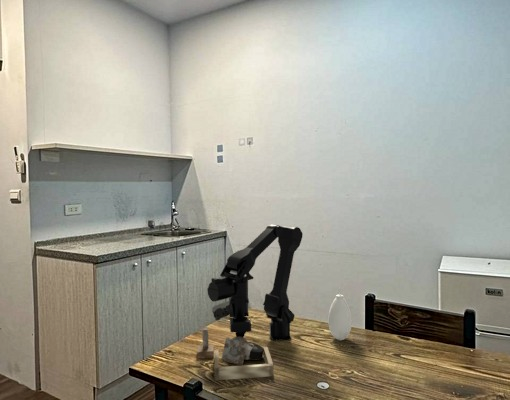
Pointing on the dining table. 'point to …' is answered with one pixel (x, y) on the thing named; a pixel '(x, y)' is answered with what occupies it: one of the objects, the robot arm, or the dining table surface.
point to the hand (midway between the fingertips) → (239, 343)
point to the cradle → (244, 369)
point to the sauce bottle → (340, 318)
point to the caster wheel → (241, 350)
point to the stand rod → (205, 347)
